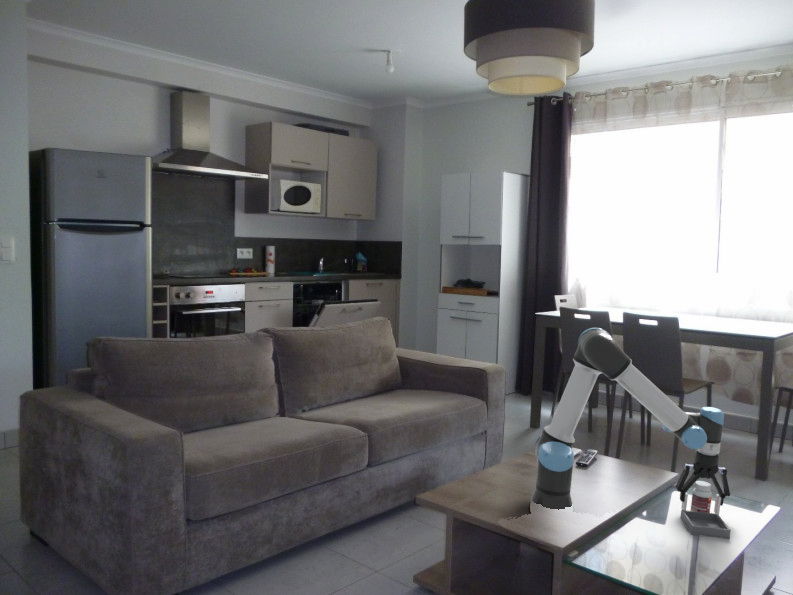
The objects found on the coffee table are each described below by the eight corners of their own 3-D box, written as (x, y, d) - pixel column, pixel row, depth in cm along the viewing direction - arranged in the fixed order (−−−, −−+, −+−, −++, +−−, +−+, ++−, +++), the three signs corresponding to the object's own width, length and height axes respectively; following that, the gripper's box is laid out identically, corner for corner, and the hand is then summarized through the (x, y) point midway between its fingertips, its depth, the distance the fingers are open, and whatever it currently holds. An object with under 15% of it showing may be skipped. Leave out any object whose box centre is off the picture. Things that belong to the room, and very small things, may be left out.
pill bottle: (710, 519, 228) (714, 488, 226) (691, 516, 230) (695, 485, 228) (707, 512, 234) (711, 481, 232) (689, 508, 236) (692, 478, 234)
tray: (691, 534, 216) (692, 526, 216) (680, 517, 228) (681, 509, 227) (729, 538, 215) (730, 530, 214) (716, 521, 226) (717, 513, 226)
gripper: (676, 452, 226) (669, 512, 229) (746, 459, 224) (738, 520, 227) (670, 444, 234) (663, 503, 237) (737, 451, 231) (730, 510, 234)
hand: (699, 511), depth 232 cm, fingers open, 10 cm apart
